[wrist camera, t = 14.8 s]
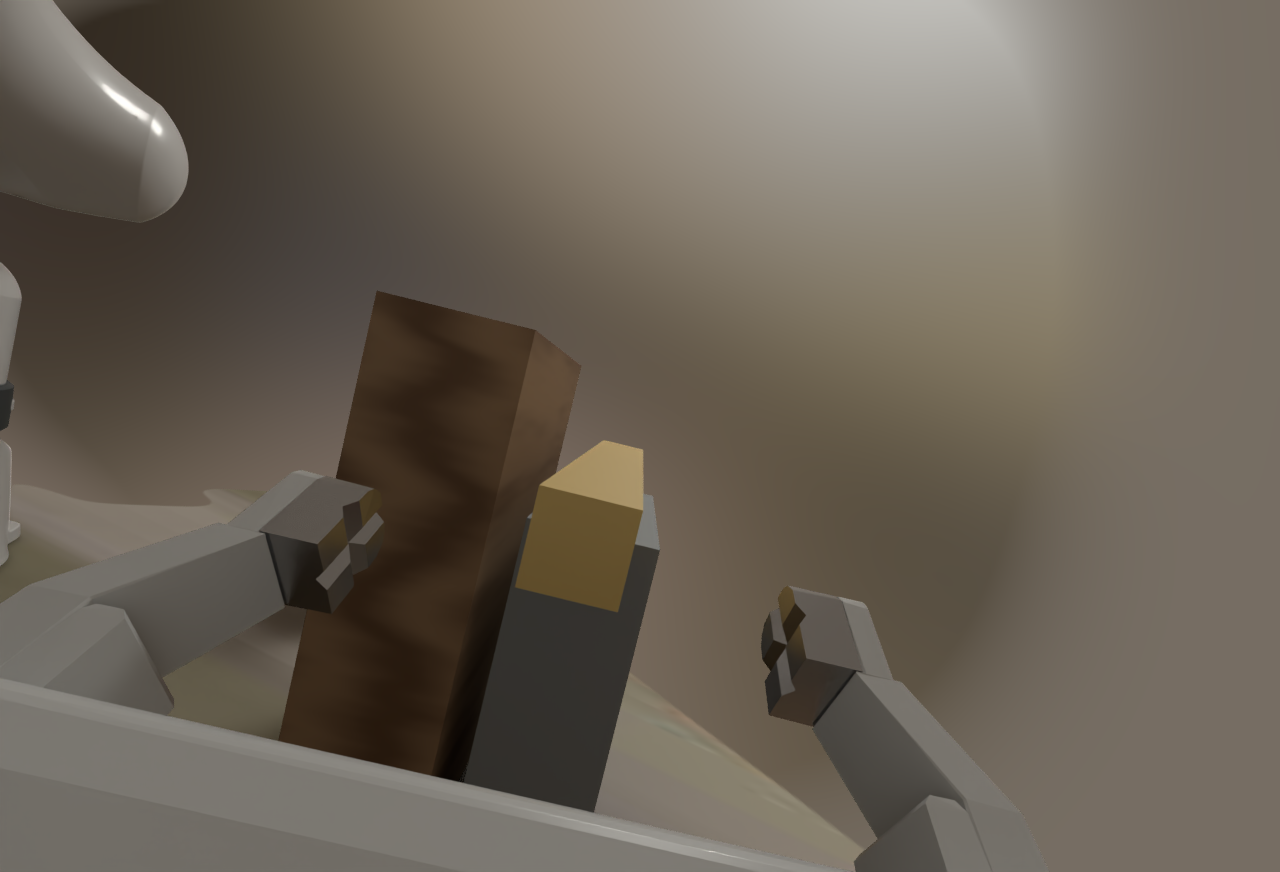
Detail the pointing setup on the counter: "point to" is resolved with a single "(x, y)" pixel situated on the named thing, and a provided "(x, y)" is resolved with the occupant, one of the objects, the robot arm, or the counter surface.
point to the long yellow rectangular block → (586, 528)
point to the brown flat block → (431, 533)
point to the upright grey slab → (560, 686)
